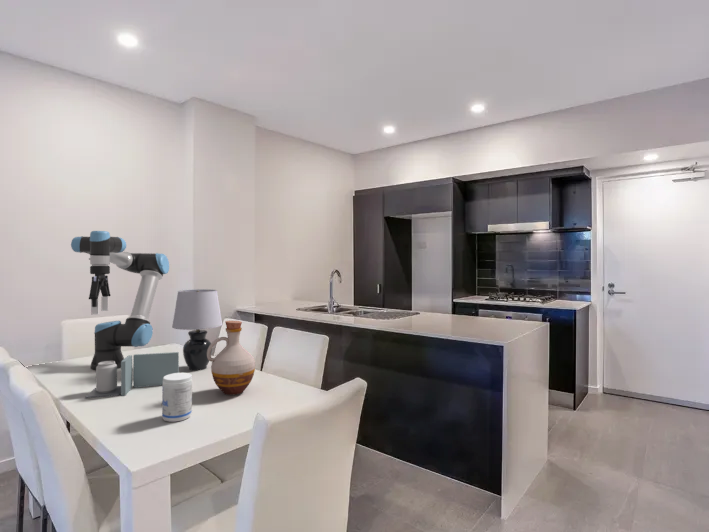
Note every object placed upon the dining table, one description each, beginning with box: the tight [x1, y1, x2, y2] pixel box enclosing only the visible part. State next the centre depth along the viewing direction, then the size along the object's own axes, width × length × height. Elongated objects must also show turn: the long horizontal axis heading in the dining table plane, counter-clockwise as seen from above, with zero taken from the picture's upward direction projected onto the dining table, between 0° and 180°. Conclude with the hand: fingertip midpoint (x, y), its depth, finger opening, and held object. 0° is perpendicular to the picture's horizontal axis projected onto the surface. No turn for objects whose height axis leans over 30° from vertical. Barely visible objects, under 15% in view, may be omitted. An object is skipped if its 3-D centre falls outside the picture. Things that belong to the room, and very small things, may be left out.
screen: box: [120, 351, 180, 397], centre depth 172 cm, size 13×20×14 cm, turn 106°
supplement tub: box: [161, 372, 193, 423], centre depth 141 cm, size 10×10×15 cm
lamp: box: [172, 288, 223, 372], centre depth 206 cm, size 24×24×40 cm
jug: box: [207, 320, 256, 396], centre depth 169 cm, size 20×18×30 cm
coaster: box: [84, 385, 121, 399], centre depth 168 cm, size 12×12×1 cm
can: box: [95, 361, 118, 393], centre depth 168 cm, size 8×8×12 cm
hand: (100, 312), depth 181 cm, fingers open, 13 cm apart
